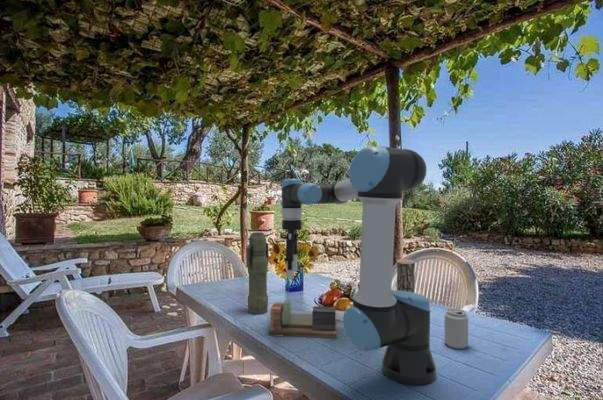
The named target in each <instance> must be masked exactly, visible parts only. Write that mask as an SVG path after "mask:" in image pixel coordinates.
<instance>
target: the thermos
mask: <svg viewBox="0 0 603 400" xmlns="http://www.w3.org/2000/svg"><path fill="white" fill-rule="evenodd" d="M249 235H250V236H249V240H248V244H247V246H246V248H245V256H246V257H245V258H246V259H245V266H246V268H247V274H248V295H247V309H248V310H247V312H248V314H251V315H253V316H254V315H255V316H256V315H259V316H260V315H264V314H267V313H268V311H269V310H268V309H269V308H268V307H269V294H268V291H267V290H268V285H267V283H268V282H267V280H268V279H267V278H268V276H267V275H268V272H269V266H268V265H269V263H270V262H269V258H270V257H269V255H270V254H269V253H270V252H269V250H270V249H269V248H270V247H269V244H268V242H267V238H266V234H265V233H263V232H252V233H250V234H249Z"/></svg>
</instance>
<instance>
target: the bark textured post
mask: <svg viewBox="0 0 603 400" xmlns="http://www.w3.org/2000/svg"><path fill="white" fill-rule="evenodd" d="M396 263H397V264H396V291H407V292H413V293H415V271H416V269H415V267H416V266H415V263H416V261H415V260H412V259H405V258H403V259H397V262H396Z"/></svg>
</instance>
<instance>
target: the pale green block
mask: <svg viewBox="0 0 603 400" xmlns="http://www.w3.org/2000/svg"><path fill="white" fill-rule="evenodd" d="M283 303H284V310H282V311H281V321H284V324H290V323H291V321H299V322H312V311H313V310H311V311H309V310H306V311H305V310H292V308H293V307H292V305H293V304H292V299H285V300H284V301H283Z"/></svg>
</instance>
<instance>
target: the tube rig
mask: <svg viewBox="0 0 603 400" xmlns="http://www.w3.org/2000/svg"><path fill="white" fill-rule="evenodd" d="M282 310H284V302H278V301H277V302H276V301H275V302H273V305H272V306H271V307H270V328H269V330H268V336H269V335H283V336H282V337H290V336H293V337H295V338H316V337H320V339H321V338H322V339H337V338H338V335H337V333H338V332H337V331H338V330H337V329H338V326H337V325H338V323H337V321H336V306H317V305H315V306H313V307H312V310H311V311H312V322H299V321H291V323H290V324H284V321H281V311H282ZM293 337H292V338H293Z"/></svg>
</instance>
